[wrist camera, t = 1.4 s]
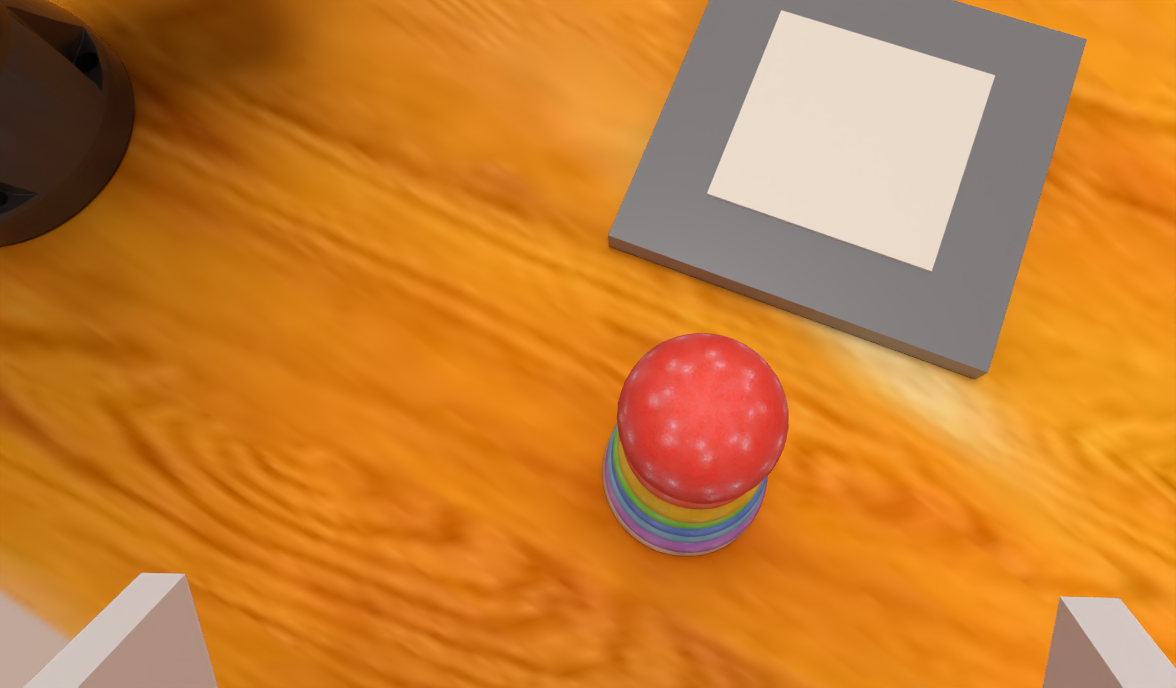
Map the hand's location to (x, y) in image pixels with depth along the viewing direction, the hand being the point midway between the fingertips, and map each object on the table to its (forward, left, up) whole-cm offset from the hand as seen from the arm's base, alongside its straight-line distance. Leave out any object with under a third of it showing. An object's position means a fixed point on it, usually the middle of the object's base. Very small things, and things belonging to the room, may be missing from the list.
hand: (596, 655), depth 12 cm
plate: (+3, +26, -27) cm, 37 cm away
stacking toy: (+1, +6, -27) cm, 28 cm away
